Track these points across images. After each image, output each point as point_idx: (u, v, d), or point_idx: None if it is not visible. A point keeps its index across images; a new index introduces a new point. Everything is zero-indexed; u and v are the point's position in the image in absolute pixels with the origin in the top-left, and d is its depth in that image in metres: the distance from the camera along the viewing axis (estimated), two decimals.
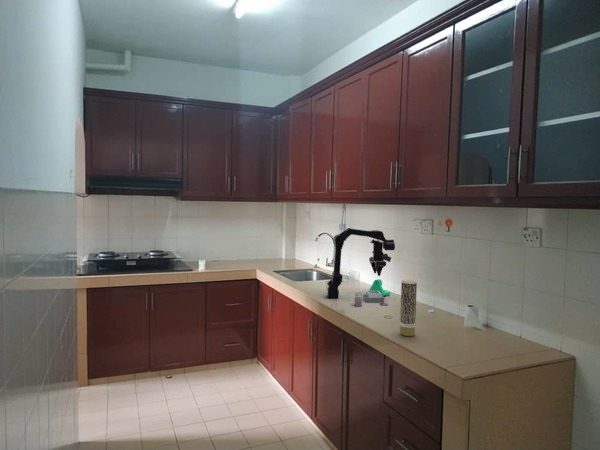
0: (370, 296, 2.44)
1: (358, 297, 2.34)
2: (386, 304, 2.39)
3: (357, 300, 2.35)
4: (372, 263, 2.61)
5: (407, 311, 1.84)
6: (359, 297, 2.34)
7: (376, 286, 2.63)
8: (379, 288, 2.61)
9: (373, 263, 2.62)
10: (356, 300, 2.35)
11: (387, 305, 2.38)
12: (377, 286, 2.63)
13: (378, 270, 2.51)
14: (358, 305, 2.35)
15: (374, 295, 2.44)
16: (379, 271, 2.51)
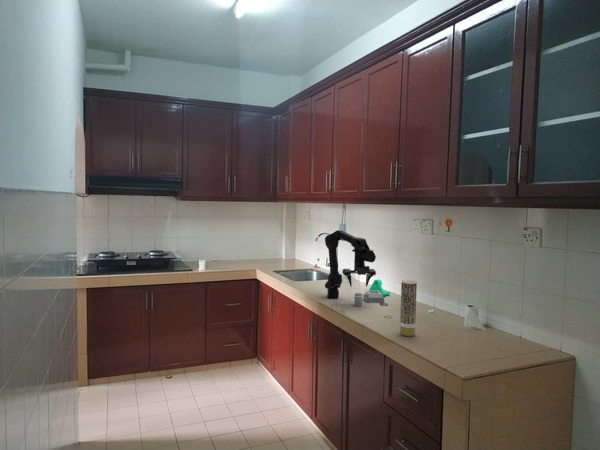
0: (370, 296, 2.44)
1: (358, 297, 2.34)
2: (386, 304, 2.39)
3: (357, 300, 2.35)
4: (366, 275, 2.38)
5: (407, 311, 1.84)
6: (359, 297, 2.34)
7: (376, 286, 2.63)
8: (379, 288, 2.61)
9: (367, 275, 2.37)
10: (356, 300, 2.35)
11: (387, 305, 2.38)
12: (377, 286, 2.63)
13: None
14: (358, 305, 2.35)
15: (374, 295, 2.44)
16: (349, 281, 2.36)
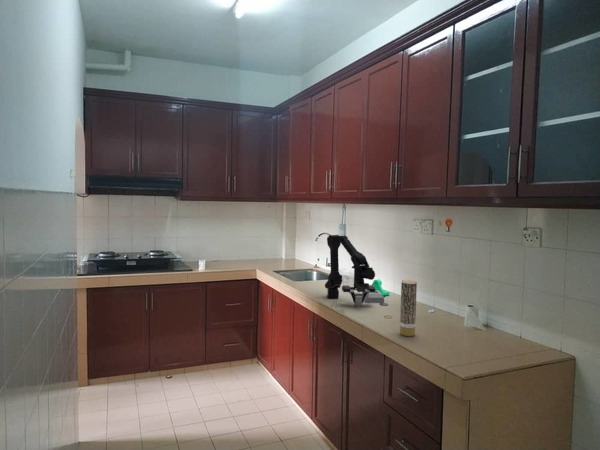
0: (370, 296, 2.44)
1: (358, 297, 2.34)
2: (386, 304, 2.39)
3: (357, 300, 2.35)
4: (362, 291, 2.38)
5: (407, 311, 1.84)
6: (359, 297, 2.34)
7: (375, 286, 2.63)
8: (379, 288, 2.61)
9: (362, 292, 2.38)
10: (356, 300, 2.35)
11: (387, 305, 2.38)
12: (376, 286, 2.62)
13: (352, 296, 2.37)
14: (358, 305, 2.35)
15: (374, 295, 2.44)
16: (352, 298, 2.36)
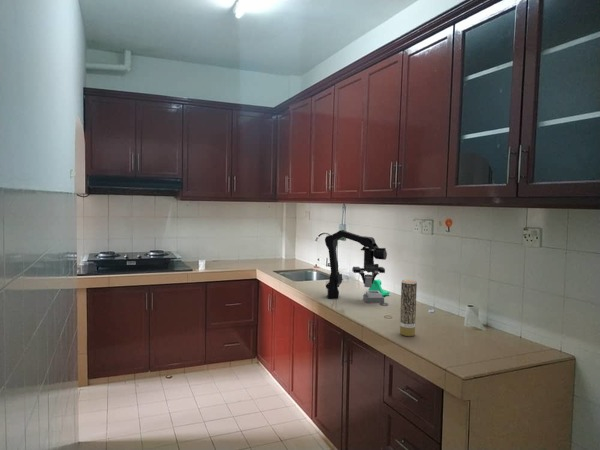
0: (370, 296, 2.44)
1: (368, 278, 2.40)
2: (386, 304, 2.39)
3: (367, 281, 2.41)
4: (372, 273, 2.45)
5: (407, 311, 1.84)
6: (369, 278, 2.40)
7: (375, 286, 2.63)
8: (378, 288, 2.61)
9: (372, 273, 2.44)
10: (366, 281, 2.41)
11: (386, 305, 2.38)
12: (376, 286, 2.62)
13: (362, 277, 2.43)
14: (368, 286, 2.41)
15: (374, 295, 2.44)
16: (362, 278, 2.43)
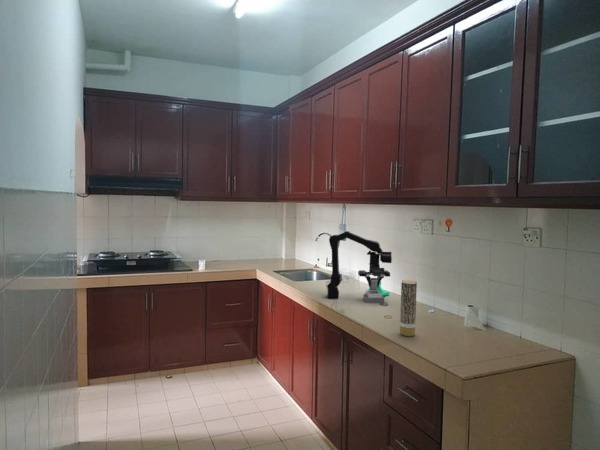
0: (370, 296, 2.44)
1: (374, 281, 2.46)
2: (385, 304, 2.39)
3: (373, 284, 2.46)
4: (377, 276, 2.50)
5: (407, 311, 1.84)
6: (375, 281, 2.46)
7: None
8: (378, 288, 2.61)
9: (378, 276, 2.49)
10: (372, 284, 2.46)
11: (386, 305, 2.38)
12: None
13: None
14: (374, 289, 2.46)
15: (374, 295, 2.44)
16: (368, 282, 2.48)
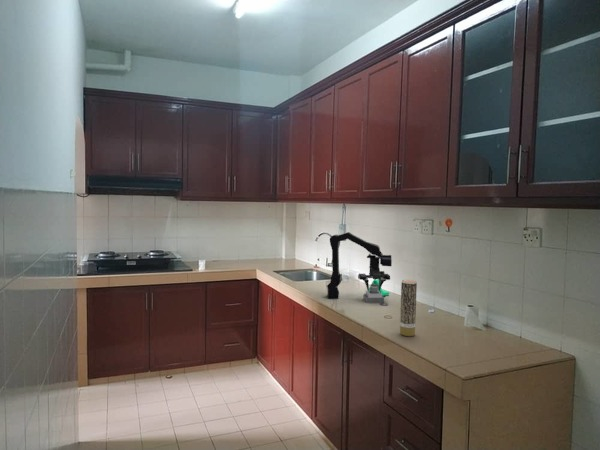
0: (370, 296, 2.44)
1: (374, 287, 2.46)
2: (385, 304, 2.39)
3: (373, 290, 2.46)
4: (379, 279, 2.50)
5: (407, 311, 1.84)
6: (375, 287, 2.46)
7: None
8: (378, 288, 2.61)
9: (379, 280, 2.49)
10: (372, 290, 2.46)
11: (385, 305, 2.38)
12: None
13: (366, 284, 2.48)
14: None
15: (374, 295, 2.44)
16: (366, 285, 2.48)
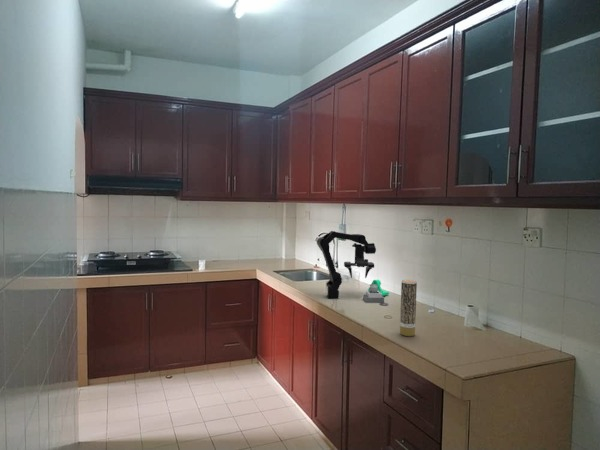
0: (370, 296, 2.44)
1: (373, 287, 2.46)
2: (385, 304, 2.38)
3: (372, 290, 2.46)
4: (366, 267, 2.61)
5: (407, 311, 1.84)
6: (374, 287, 2.46)
7: None
8: (378, 288, 2.60)
9: (366, 268, 2.61)
10: (371, 290, 2.47)
11: (384, 305, 2.38)
12: None
13: (349, 271, 2.60)
14: None
15: (374, 295, 2.44)
16: None
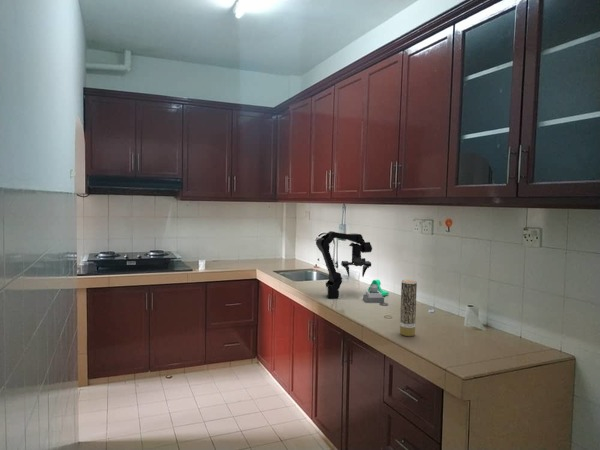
0: (370, 296, 2.44)
1: (374, 288, 2.46)
2: (384, 304, 2.38)
3: (373, 290, 2.46)
4: (363, 266, 2.64)
5: (407, 311, 1.84)
6: (375, 288, 2.46)
7: None
8: (378, 288, 2.60)
9: (363, 266, 2.63)
10: (372, 290, 2.46)
11: (383, 305, 2.38)
12: None
13: None
14: None
15: (374, 295, 2.44)
16: (347, 272, 2.62)
